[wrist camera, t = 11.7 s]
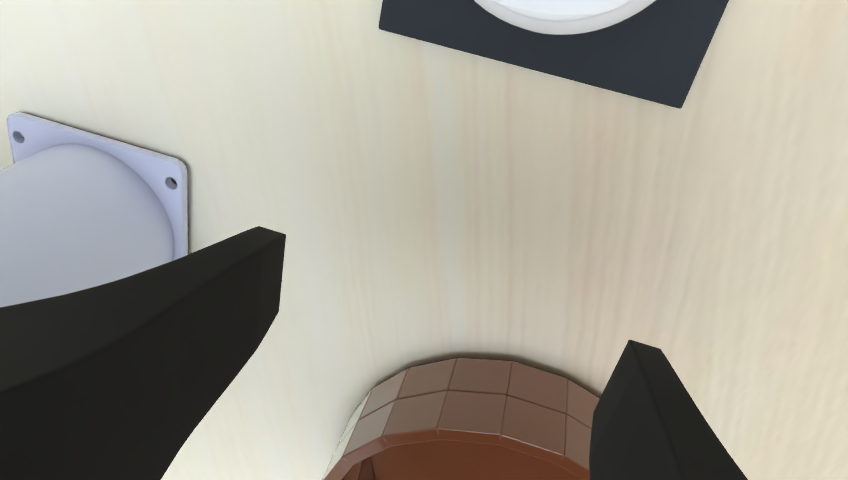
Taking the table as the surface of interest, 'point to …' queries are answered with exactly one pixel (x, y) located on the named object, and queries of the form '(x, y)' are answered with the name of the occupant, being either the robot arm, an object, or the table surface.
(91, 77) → the table surface
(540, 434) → the glazed bowl
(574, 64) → the coaster
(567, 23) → the supplement bottle
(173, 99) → the table surface
